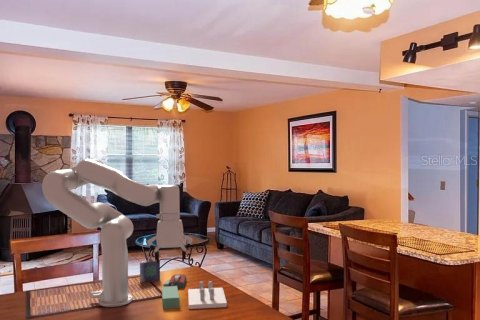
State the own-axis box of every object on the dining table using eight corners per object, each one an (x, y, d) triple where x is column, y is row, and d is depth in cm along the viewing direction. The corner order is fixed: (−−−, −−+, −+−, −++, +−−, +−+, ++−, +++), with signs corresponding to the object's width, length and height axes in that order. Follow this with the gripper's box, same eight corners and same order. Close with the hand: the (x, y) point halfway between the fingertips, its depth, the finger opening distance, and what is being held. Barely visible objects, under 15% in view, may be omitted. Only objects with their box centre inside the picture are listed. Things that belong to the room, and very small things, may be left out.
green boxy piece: (162, 309, 152) (162, 298, 152) (161, 296, 166) (161, 286, 166) (179, 308, 153) (179, 297, 153) (177, 295, 167) (177, 285, 167)
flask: (141, 283, 182) (140, 259, 182) (138, 281, 185) (138, 257, 185) (160, 280, 187) (160, 256, 187) (158, 278, 190) (158, 255, 190)
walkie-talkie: (167, 280, 188) (160, 295, 168) (167, 270, 188) (160, 284, 168) (187, 280, 188) (181, 295, 168) (187, 270, 188) (181, 284, 168)
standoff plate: (188, 308, 152) (188, 294, 152) (188, 292, 169) (188, 279, 169) (226, 306, 153) (226, 292, 153) (222, 291, 171) (222, 277, 171)
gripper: (146, 219, 154) (146, 265, 155) (192, 217, 157) (193, 262, 157) (147, 216, 162) (148, 260, 162) (192, 214, 164) (193, 257, 164)
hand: (170, 261), depth 159 cm, fingers open, 9 cm apart
